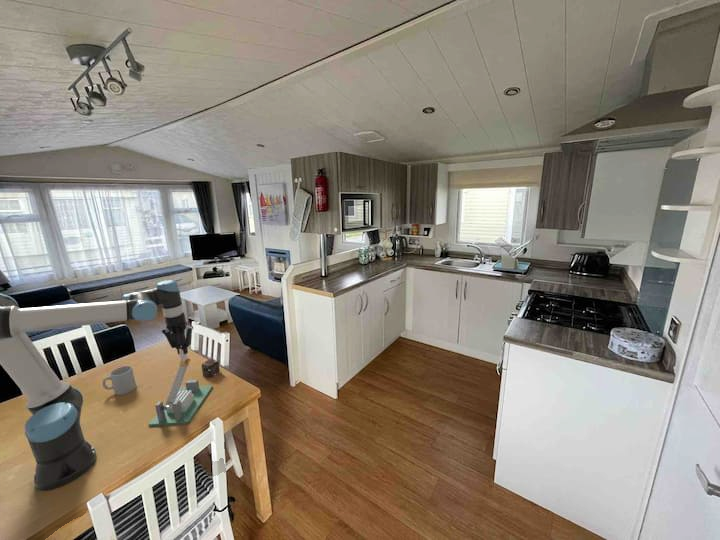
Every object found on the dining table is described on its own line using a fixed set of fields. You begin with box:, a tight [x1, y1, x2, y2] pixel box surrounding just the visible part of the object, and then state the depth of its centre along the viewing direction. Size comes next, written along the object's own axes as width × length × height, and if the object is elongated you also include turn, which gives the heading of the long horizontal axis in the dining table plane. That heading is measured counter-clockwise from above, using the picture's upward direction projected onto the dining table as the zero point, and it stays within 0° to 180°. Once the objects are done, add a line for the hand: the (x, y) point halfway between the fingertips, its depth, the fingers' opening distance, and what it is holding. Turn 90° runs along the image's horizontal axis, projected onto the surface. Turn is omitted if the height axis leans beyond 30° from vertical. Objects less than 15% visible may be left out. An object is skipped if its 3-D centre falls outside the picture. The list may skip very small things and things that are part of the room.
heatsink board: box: [147, 379, 214, 427], centre depth 128 cm, size 24×16×10 cm, turn 4°
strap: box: [161, 358, 191, 410], centre depth 124 cm, size 22×5×2 cm
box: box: [201, 358, 221, 378], centre depth 151 cm, size 6×6×7 cm
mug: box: [102, 365, 137, 396], centre depth 138 cm, size 12×8×11 cm
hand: (184, 359), depth 130 cm, fingers closed
